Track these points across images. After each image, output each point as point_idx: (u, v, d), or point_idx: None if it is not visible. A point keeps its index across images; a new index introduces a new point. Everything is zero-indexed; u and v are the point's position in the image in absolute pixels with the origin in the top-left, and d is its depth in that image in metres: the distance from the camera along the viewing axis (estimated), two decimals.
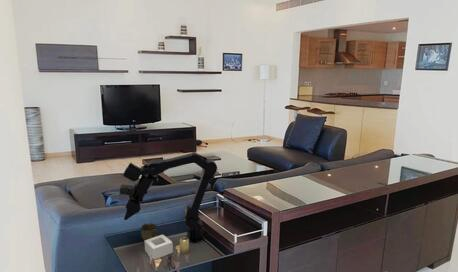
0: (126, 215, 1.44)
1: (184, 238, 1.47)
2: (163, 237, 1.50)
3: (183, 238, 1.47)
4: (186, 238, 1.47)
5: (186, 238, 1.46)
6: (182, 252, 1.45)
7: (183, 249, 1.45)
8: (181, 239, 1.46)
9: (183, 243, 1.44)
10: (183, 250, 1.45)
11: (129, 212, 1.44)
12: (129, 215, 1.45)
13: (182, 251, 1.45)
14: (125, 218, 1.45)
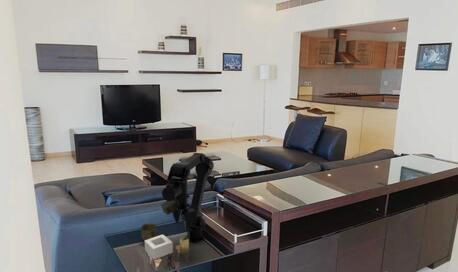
0: (187, 226, 1.39)
1: (184, 238, 1.47)
2: (163, 237, 1.50)
3: (183, 238, 1.47)
4: (186, 238, 1.47)
5: (186, 238, 1.46)
6: (182, 252, 1.45)
7: (183, 249, 1.45)
8: (181, 239, 1.46)
9: (183, 243, 1.44)
10: (183, 250, 1.45)
11: (188, 222, 1.39)
12: (189, 224, 1.40)
13: (182, 251, 1.45)
14: (187, 229, 1.40)
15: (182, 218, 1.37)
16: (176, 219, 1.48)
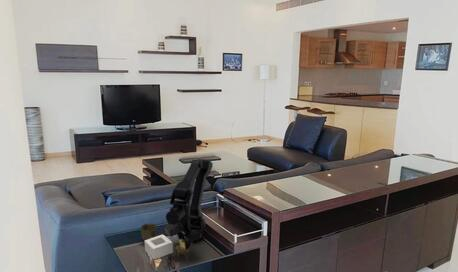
0: (187, 245, 1.44)
1: None
2: (163, 237, 1.50)
3: None
4: None
5: None
6: (182, 252, 1.45)
7: (183, 249, 1.45)
8: (181, 239, 1.46)
9: (183, 243, 1.44)
10: (183, 250, 1.45)
11: None
12: (189, 243, 1.44)
13: (182, 251, 1.45)
14: (187, 248, 1.45)
15: (182, 238, 1.41)
16: None
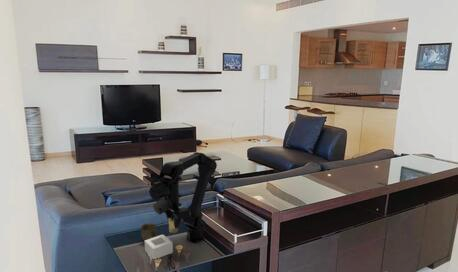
0: (176, 223, 1.42)
1: None
2: (163, 237, 1.50)
3: None
4: None
5: None
6: (171, 231, 1.43)
7: (172, 228, 1.43)
8: (170, 218, 1.43)
9: (172, 222, 1.42)
10: (172, 229, 1.43)
11: (177, 219, 1.41)
12: (178, 221, 1.42)
13: (171, 230, 1.43)
14: (176, 226, 1.42)
15: (171, 216, 1.39)
16: None
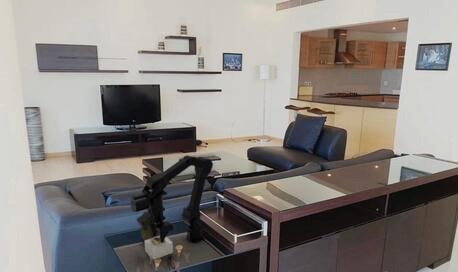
0: (161, 238, 1.42)
1: (158, 238, 1.47)
2: None
3: (158, 238, 1.47)
4: None
5: None
6: None
7: None
8: (155, 239, 1.46)
9: (157, 243, 1.44)
10: None
11: (162, 234, 1.42)
12: (164, 236, 1.42)
13: None
14: (162, 241, 1.43)
15: (156, 230, 1.39)
16: (154, 232, 1.48)
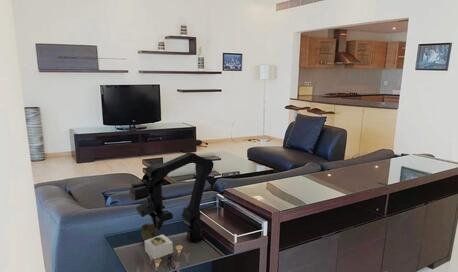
0: (158, 225, 1.43)
1: (158, 238, 1.47)
2: (163, 237, 1.50)
3: (158, 238, 1.47)
4: (160, 238, 1.47)
5: (160, 238, 1.46)
6: None
7: None
8: (155, 239, 1.46)
9: (157, 243, 1.44)
10: None
11: None
12: (161, 223, 1.43)
13: None
14: (159, 228, 1.44)
15: (153, 217, 1.40)
16: (155, 223, 1.46)
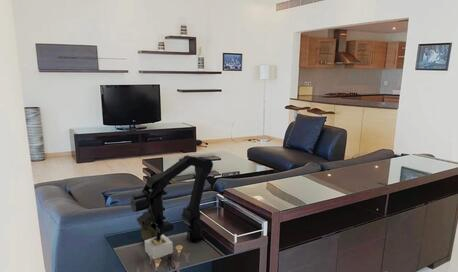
0: (158, 235, 1.45)
1: None
2: (163, 237, 1.50)
3: None
4: (160, 238, 1.47)
5: (160, 238, 1.46)
6: None
7: None
8: (155, 239, 1.46)
9: (157, 243, 1.44)
10: None
11: None
12: None
13: None
14: (158, 238, 1.45)
15: (153, 227, 1.42)
16: None
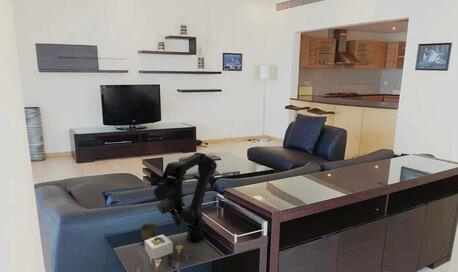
0: (177, 222, 1.44)
1: (158, 238, 1.47)
2: (163, 237, 1.50)
3: (158, 238, 1.47)
4: (160, 238, 1.47)
5: (160, 239, 1.46)
6: None
7: None
8: (155, 239, 1.46)
9: (157, 243, 1.44)
10: None
11: (178, 217, 1.43)
12: (179, 220, 1.44)
13: None
14: (177, 224, 1.44)
15: (173, 214, 1.41)
16: None
